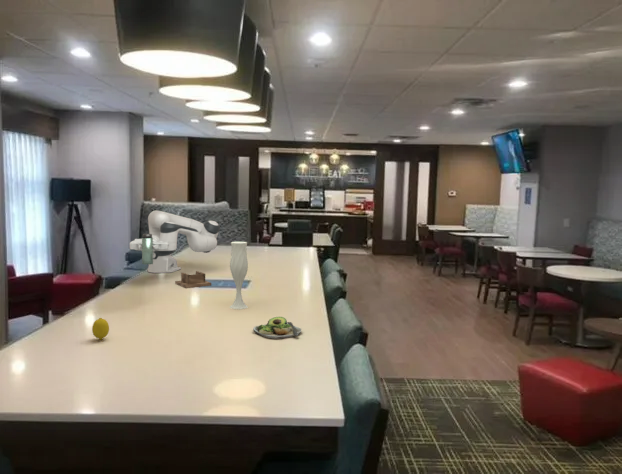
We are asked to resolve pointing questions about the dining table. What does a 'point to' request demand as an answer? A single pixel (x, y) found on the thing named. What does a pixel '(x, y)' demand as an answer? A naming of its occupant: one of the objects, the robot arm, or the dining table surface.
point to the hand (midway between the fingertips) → (147, 247)
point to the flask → (147, 249)
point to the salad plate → (277, 329)
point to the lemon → (100, 328)
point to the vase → (238, 271)
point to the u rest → (193, 280)
